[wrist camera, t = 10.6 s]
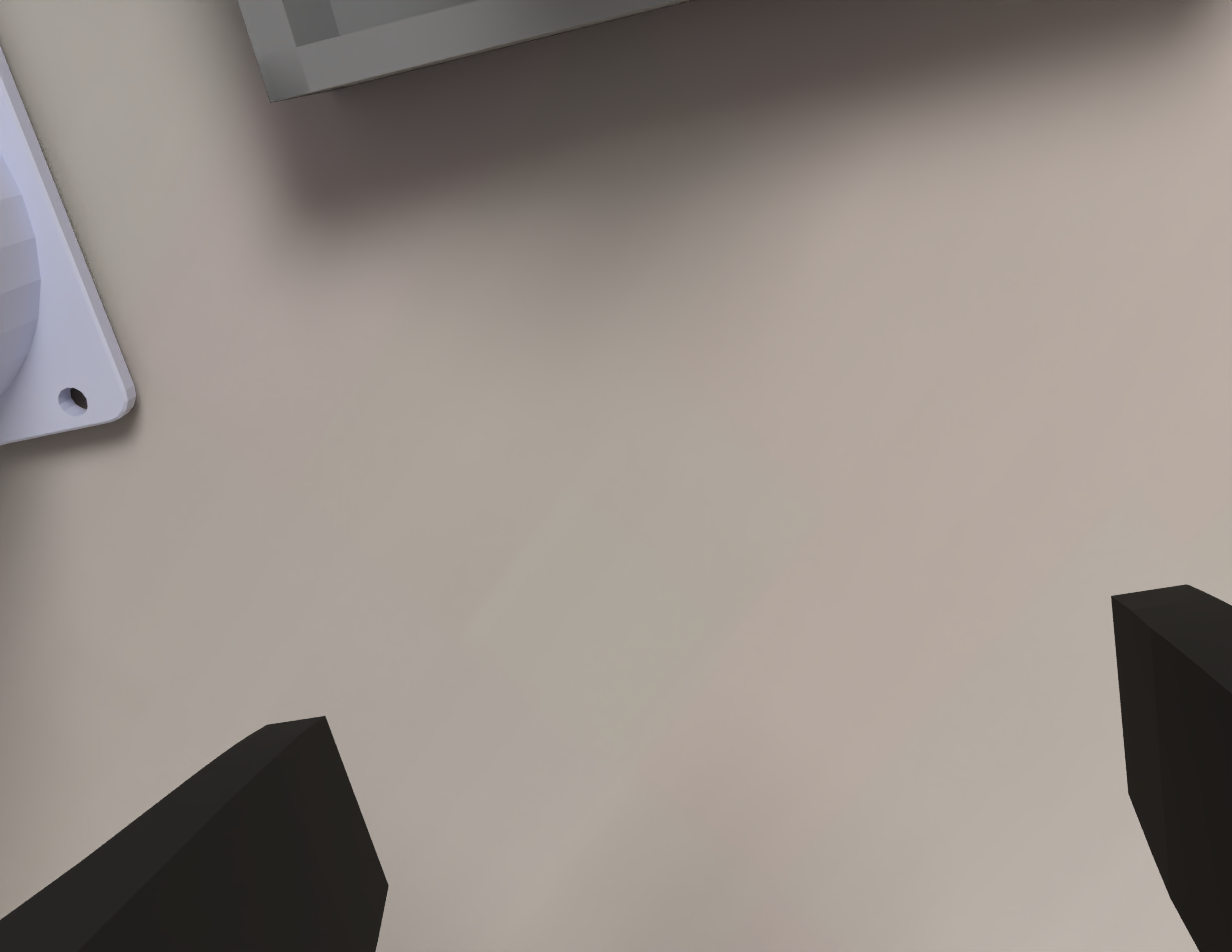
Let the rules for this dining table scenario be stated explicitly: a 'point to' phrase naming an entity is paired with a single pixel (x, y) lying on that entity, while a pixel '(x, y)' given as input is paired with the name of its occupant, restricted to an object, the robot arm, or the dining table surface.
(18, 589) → the dining table surface
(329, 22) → the parts bin
